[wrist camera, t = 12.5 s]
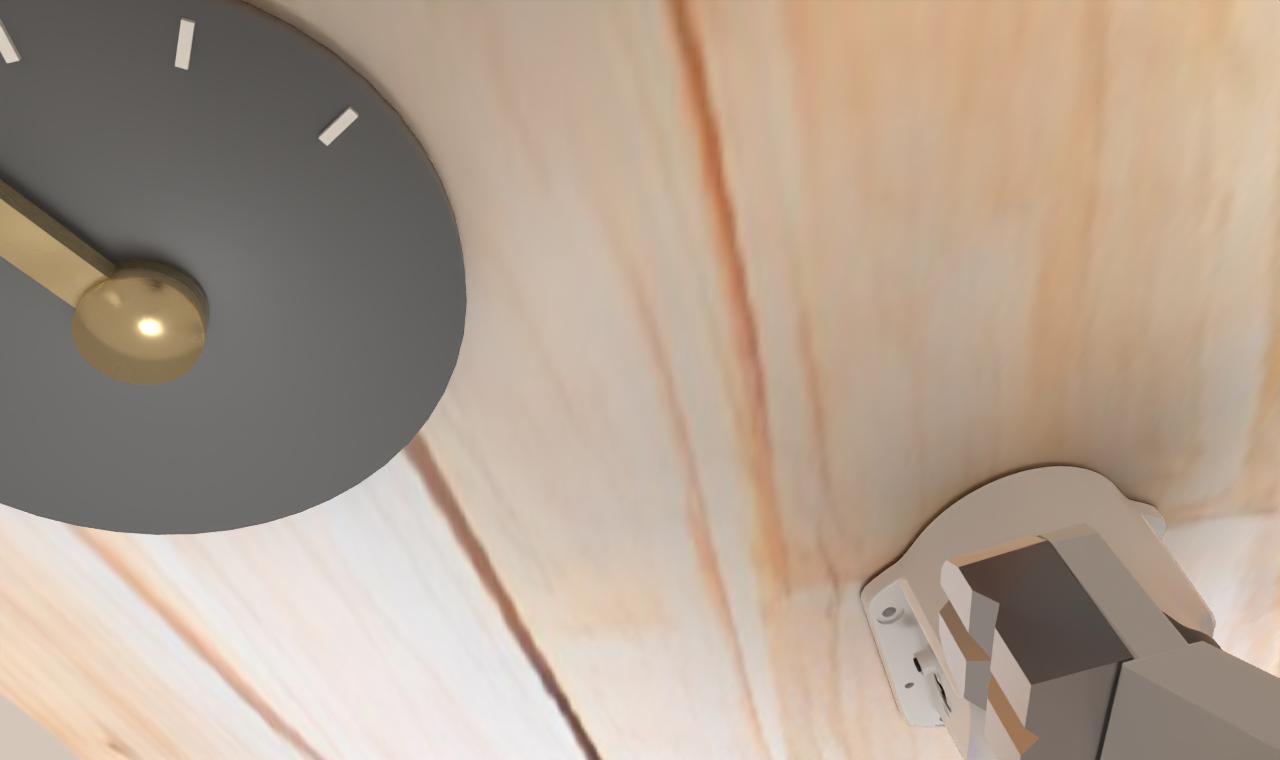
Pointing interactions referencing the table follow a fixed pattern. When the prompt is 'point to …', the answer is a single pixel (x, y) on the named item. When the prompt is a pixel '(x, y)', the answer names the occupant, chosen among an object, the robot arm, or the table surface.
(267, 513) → the dial plate
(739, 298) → the table surface
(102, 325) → the brass lever
